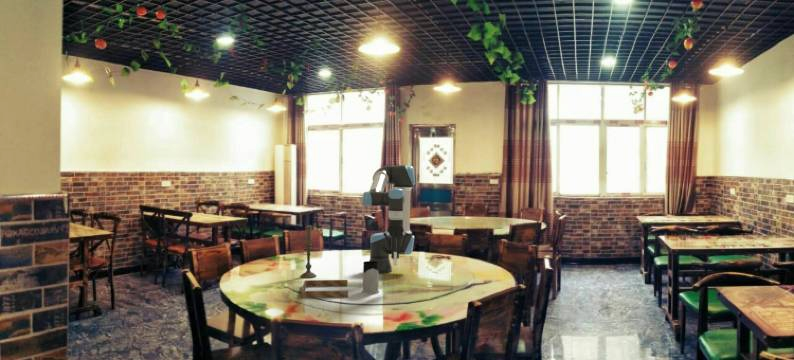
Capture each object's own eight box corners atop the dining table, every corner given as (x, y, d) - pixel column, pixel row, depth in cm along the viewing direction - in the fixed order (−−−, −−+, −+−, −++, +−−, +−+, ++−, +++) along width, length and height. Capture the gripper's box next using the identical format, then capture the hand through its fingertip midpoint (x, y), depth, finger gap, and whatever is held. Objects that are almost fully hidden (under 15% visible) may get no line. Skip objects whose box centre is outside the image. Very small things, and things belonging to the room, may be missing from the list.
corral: (347, 285, 259) (347, 279, 259) (348, 297, 235) (348, 290, 235) (304, 286, 257) (304, 280, 257) (300, 297, 233) (300, 291, 233)
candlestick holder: (318, 275, 284) (318, 223, 283) (313, 278, 275) (314, 225, 274) (302, 274, 285) (303, 223, 284) (298, 278, 275) (298, 225, 275)
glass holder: (363, 294, 241) (364, 264, 240) (358, 287, 254) (358, 259, 254) (381, 293, 243) (381, 263, 243) (374, 287, 257) (375, 258, 256)
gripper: (383, 219, 245) (382, 266, 245) (409, 219, 246) (408, 266, 247) (382, 218, 252) (381, 263, 252) (407, 218, 254) (406, 263, 254)
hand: (395, 265), depth 250 cm, fingers closed
